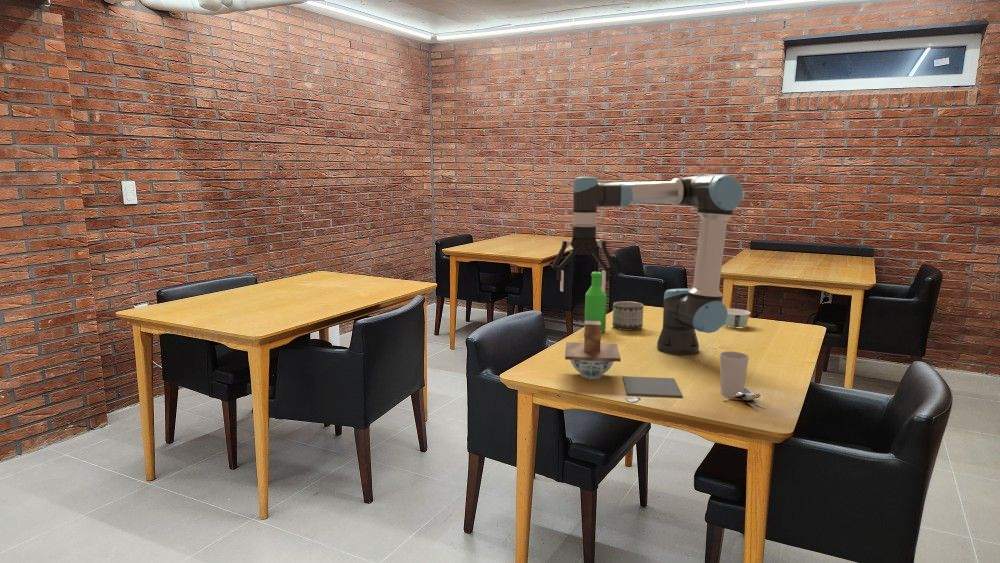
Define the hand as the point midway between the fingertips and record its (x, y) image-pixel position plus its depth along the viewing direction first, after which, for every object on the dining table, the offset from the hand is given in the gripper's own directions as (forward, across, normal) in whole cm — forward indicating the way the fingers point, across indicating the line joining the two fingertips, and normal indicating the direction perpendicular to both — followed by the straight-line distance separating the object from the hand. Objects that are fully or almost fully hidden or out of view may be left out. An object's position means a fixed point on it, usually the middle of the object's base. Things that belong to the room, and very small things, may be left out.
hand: (582, 291), depth 199 cm
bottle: (+27, -14, -55) cm, 63 cm away
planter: (+27, -29, -60) cm, 72 cm away
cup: (+27, -42, +22) cm, 55 cm away
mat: (+27, -20, +16) cm, 37 cm away
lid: (+19, -3, +5) cm, 20 cm away
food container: (+27, -77, -64) cm, 103 cm away
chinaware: (+27, -3, +5) cm, 28 cm away
